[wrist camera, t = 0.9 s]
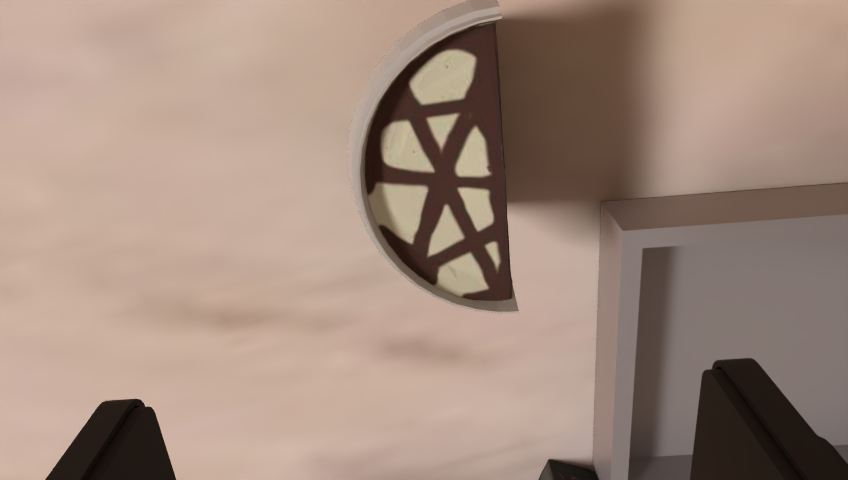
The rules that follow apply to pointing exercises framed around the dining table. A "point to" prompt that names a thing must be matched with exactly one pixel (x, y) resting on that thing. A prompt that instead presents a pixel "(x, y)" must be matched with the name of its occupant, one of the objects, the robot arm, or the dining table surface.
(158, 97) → the dining table surface
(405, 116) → the food container
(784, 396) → the robot arm
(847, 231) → the tray
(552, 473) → the teal animal figurine
